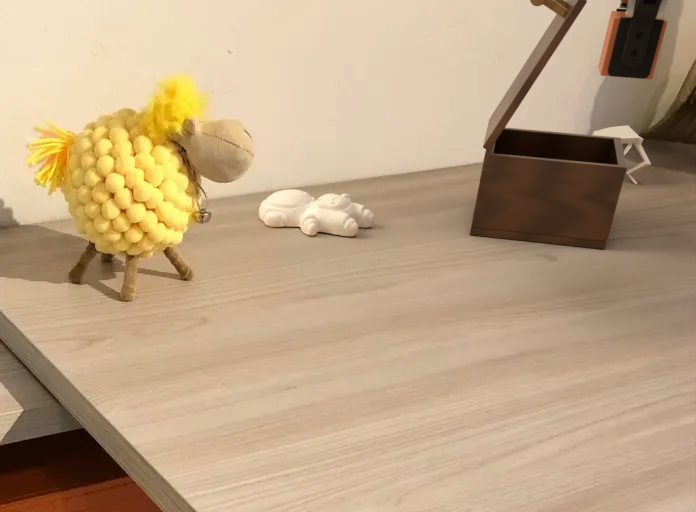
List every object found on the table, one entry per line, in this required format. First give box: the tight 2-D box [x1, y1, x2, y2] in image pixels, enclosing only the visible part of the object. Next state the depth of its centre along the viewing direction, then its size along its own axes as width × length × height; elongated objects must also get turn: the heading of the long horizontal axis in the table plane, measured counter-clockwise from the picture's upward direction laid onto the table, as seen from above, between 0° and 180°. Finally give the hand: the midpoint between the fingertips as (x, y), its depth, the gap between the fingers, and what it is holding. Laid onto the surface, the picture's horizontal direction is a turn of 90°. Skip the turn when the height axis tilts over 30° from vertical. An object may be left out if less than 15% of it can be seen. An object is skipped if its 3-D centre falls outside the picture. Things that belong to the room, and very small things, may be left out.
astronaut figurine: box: [258, 188, 375, 237], centre depth 109 cm, size 9×12×3 cm
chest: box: [469, 127, 628, 250], centre depth 109 cm, size 14×13×8 cm
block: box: [597, 10, 668, 80], centre depth 83 cm, size 4×4×4 cm
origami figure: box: [592, 124, 652, 185], centre depth 126 cm, size 12×8×5 cm
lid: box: [482, 0, 588, 151], centre depth 102 cm, size 14×13×5 cm
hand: (626, 68), depth 84 cm, fingers closed on block, 4 cm apart
